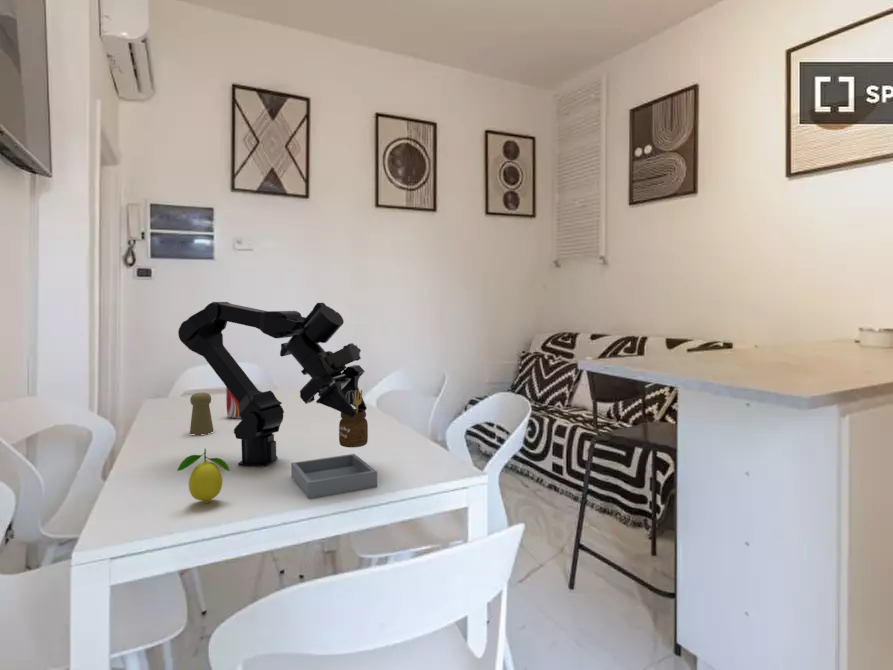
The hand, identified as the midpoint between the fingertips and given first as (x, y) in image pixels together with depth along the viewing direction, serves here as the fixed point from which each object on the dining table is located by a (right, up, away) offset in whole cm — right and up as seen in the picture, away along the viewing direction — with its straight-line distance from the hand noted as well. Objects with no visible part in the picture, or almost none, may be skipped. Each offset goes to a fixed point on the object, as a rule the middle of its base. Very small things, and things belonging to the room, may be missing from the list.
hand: (359, 412), depth 111 cm
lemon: (-26, -14, -15) cm, 33 cm away
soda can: (-47, -10, +55) cm, 73 cm away
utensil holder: (-1, -7, +1) cm, 7 cm away
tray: (-5, -13, -3) cm, 15 cm away
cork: (-49, -11, +36) cm, 62 cm away
